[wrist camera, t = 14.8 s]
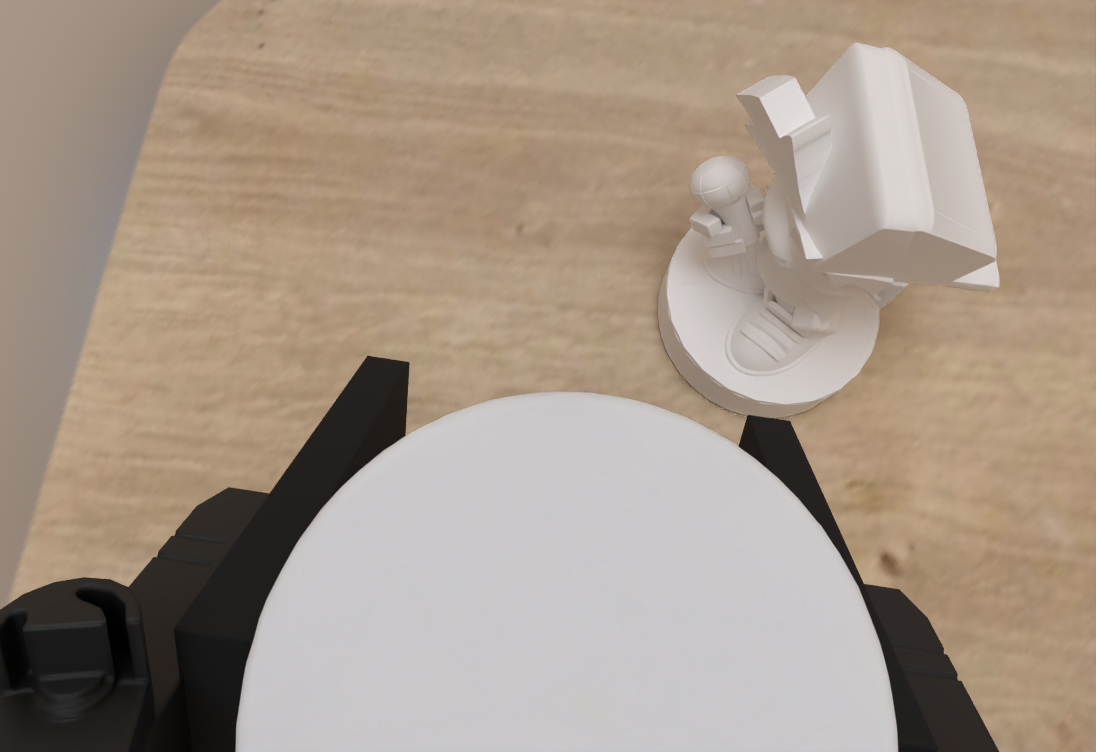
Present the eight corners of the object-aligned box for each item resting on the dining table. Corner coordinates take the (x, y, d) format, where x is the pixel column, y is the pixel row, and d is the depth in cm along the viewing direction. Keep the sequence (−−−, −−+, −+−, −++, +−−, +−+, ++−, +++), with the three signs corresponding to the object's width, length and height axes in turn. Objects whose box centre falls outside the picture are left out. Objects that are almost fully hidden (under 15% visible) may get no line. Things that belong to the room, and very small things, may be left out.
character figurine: (652, 221, 32) (730, -3, 20) (867, 226, 32) (1060, 10, 21) (662, 416, 29) (758, 284, 18) (897, 420, 29) (1139, 292, 18)
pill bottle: (650, 848, 15) (1024, 1452, 4) (351, 779, 15) (-74, 1183, 4) (694, 543, 16) (1022, 393, 6) (429, 485, 17) (283, 236, 6)
